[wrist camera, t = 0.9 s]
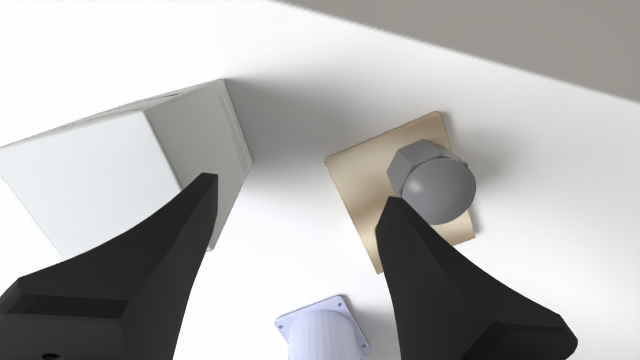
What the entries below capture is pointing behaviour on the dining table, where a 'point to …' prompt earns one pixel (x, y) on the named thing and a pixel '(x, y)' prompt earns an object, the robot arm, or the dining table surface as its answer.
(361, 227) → the board
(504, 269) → the dining table surface
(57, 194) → the supplement box
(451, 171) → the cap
